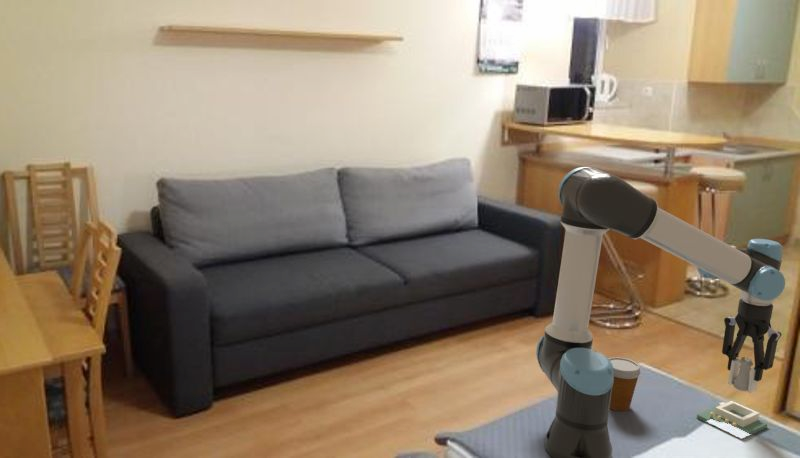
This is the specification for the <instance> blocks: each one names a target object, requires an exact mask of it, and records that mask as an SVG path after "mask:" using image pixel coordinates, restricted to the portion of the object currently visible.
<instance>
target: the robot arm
mask: <svg viewBox="0 0 800 458" xmlns="http://www.w3.org/2000/svg"><path fill="white" fill-rule="evenodd" d="M560 181H561V182H560V183H559V186H558V193H557V195H558V199H559V202H560V205H562V207H561V215H560V221H559V222H560V223H561V225H562V226H563V228H564V230H565V233H564V239H563V240H564V242H563V247H562V255H561V262H560V268H559V275H558V283H557V289H556V295H555V303H554V309H553V311H554V312H553V318H552V322H551V323H549V324H548V325H547V326H546V327H545V330H544V335H543V336H541V337H540V338H539V341H538V342H537V345H536V350H535V351H536V355H535V356H536V360H537V363H538V365H539V367H540V369H541V371H542V372H543V373H544V374H545V377H547V379H548V380H549V382H550V383H551V384H552V386H553V387H554V388H555V390H556V392H557V397H556V398H557V399H556V409H555V416H554V417H553V420H552V422H551V424H550V426H549V428H548V429H547V432H546V434H545V438H544V439H545V440H544V449H545V450H546V452H547V454H548V455H549V456H551V458H612V457H613V456H612V455H613V445H612V443H611V439H610V433H609V428H608V422H609V421H608V420H609V413H610V409H611V408H610V400H611V393H612V386H613V383H614V376H613V372H614V370H613V365H612V363H611V361H610V360H609V358H608V357H607V356H606V355H605V354H603V353H601V352H597V350H594V349H592V348H593V341H594V334H593V332H591V331H590V329H589V325H590V318H591V313H592V306H593V299H594V292H595V287H596V281H597V280H596V279H597V274H598V269H599V268H598V267H599V261H600V255H601V248H602V242H603V237H604V236H603V235H604V234H606V233H607V232H608V231H610V230H611V231H613V232H616V233H618V234H621V235H623V236H626V237H628V238H629V239H631V240H632V239H633V240H638V239H641V240H644V241H646V242H648V243H650V244H652V245H653V246H656V247H658V248H660V249H661V250H663V251H664V252H667V253H669V254H671V255H673V256H675V257H677V258H679V259H681V260H683V261H685V262H687V263H688V264H691V265H692V266H694V267H696V268H697V272H698V274H699V275H700V276H701V277H702V278H704V279H712V280H716V279H719V280H722V281H724V282H725V283H728V284H729V285H731V286H733V287H735V288H737V289H739V290H740V294H739V297H740V299H738V305H737V306H738V307H737V313H736V314H737V315H736V316H731V315H730V316H728V317H725V318H724V326H725V329H724V334H723V335H724V336H723V342H722V350H721V353H722V355H725V356H727V358H728V361H727V362H728V363H727V371H729V375H728V382H727V384H728V385H733V383H734V379H735V378H736V377H737V376H738V373H739V370H740V368H739V366H740V365H741V364H740V362H739V360H741V358H740V355H739V354H740V352H741V350H742V349H743V346H744V343H745V341H746V339H747V337H750V338H751V342H752V344H753V356H754V366H753V367H751V370H750V380H749V385H748V391H746V392H748V393H750V394H751V393H753V392H755V391H757V387H758V382H760V381H762V379H763V374H764V371H767V370H770V369H772V368H773V366H774V360H775V356H776V353H777V352H776V351H777V345H778V341H779V340H780V338H781V337H782V333H781V331H776V330H774V329H773V328H772V325H771V319H772V316H773V310H774V305H773V303H774V302H775V299H777V298H779V296H781V295H782V293H783V291H784V290H785V287H786V279H785V276H784V274H783V273H782V272H781V271H780V270H781V264H782V262H783V260H782V259H783V249H784V248H783V245H782V244H781V243H779V242H778V241H775V240H771V239H767V238H766V239H765V238H752V239H750V240H749V241H748V244H747V247H744V248H742V247H741V248H737V247H733V246H732V245H730V244H728V243H726V242H724V241H723V240H721V239H719V238H717V237H715V236H713V235H711V234H709V233H707V232H705V231H703V230H702V229H699V228H698V227H696V226H694V225H692V224H690V223H689V222H687V221H685V220H683V219H681V218H679V217H677V216H675V215H673V214H672V213H669V212H667V211H666V210H664V209H662V208H660V207H659V204H658V202H657V200H655V199H653V198H651V197H649V196H648V195H646V194H645V193H643V192H641V191H640V190H638V189H637V188H636V187H634V186H632V185H631V184H629V182H627V181H625V180H624V179H622V178H621V177H619V176H617V175H615V174H612V173H609V172H606V171H603V170H601V169H599V168H597V167H596V168H595V167H593V166H591V167H590V166H582V167H581V166H580V167H577V168H574V169H571V171H569V172H568V173H566V174H565V175H564V177H562V180H560ZM736 325H737V327H738V330H737V333H736V336H735V331H736ZM766 334H768V335H767V339H768V340H767V344H766V347H765V348H764V346H765V345H764V341H765V335H766ZM734 336H735V337H736V338H735V340H734Z"/></svg>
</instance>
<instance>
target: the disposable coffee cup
mask: <svg viewBox="0 0 800 458" xmlns="http://www.w3.org/2000/svg"><path fill="white" fill-rule="evenodd" d="M608 359H609V360H610V361H611V363H612V365H613V370H614V372H613V376H614V383H613V386H612V393H611V400H610V408H609V409H611V410H614V411H618V412H625V411H628V410H630V407H631V403H632V401H633V396H634V393H635V390H636V385H637V382H638V378H639V377H640V375H641V373H642V371H641V370H642V369H641V367H640V365H639V364H638V363H637V362H636V361H634V360H632V359H630V358H625V357H618V356H617V357H609V358H608Z"/></svg>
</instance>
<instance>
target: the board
mask: <svg viewBox="0 0 800 458" xmlns="http://www.w3.org/2000/svg"><path fill="white" fill-rule="evenodd" d="M759 418H760V412H758V411H756V410H754V409H752V408H749V407H747V406H746V405H742V404H740V403H738V402H735V401H733V400H730V401H728V402H724V401H721V402H719V403H718V404H717V406H715V407H712V408H710V409H707V410H704V411H702V412H700V413H698V414H696V419H698V420H700V419H701V420H700V421H702V420H703V421H702V422H704V421H707V420H710V419H713V420H716V421H719V422H725V423H727V424H728V423H729V424H731V425H732V426H734V427H737V428H739V429H741V430H743V431H745V432H747V433H749V434H752V435H754V434H757V433H758V432H760V431H762V430H764V429H766V428H768V423H767V422H765V421H762V420H760V419H759Z"/></svg>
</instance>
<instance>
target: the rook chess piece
mask: <svg viewBox="0 0 800 458" xmlns="http://www.w3.org/2000/svg"><path fill="white" fill-rule="evenodd" d="M739 362H740V365H739V371H738V376H737V377H736V378H735V379H734V383H733V384H732V386H733V387H734V389H736V390H738V391H742V392H747V391H748V385H749V380H750V374H751V368H752V366H754V363H753V360H752V358H749V357H745V356H742V357H741V358H740V360H739Z"/></svg>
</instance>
